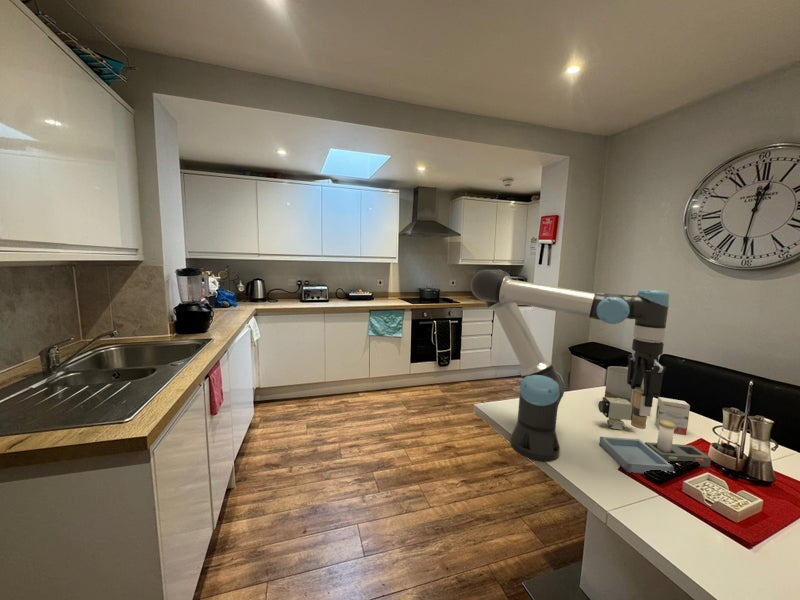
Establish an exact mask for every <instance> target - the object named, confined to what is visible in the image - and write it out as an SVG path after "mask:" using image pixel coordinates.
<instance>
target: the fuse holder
mask: <svg viewBox="0 0 800 600" xmlns="http://www.w3.org/2000/svg"><path fill="white" fill-rule="evenodd" d="M644 443H645V444H646V445H647V446H648V447H650V448H651V449H652V450H653V451H655V452H656V453H657V454H658V455H660V456H661V457H662V458H663V459H665V460H666V461H667V462H670V461H693V462H698V463H699V464H700V466H699V467H701V468H702V467H704V468H710V467H711V461H712V457H710V456H708V455H707V454H706V453H704V452H703V451H701V450H700V449H698V448H696V447H695V446H694V445H691V444H689V445H688V444H676V443H672V448H671V453H664V452H661V451H660V450H658V449H657V442H647V441H645V442H644Z"/></svg>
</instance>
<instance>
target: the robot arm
mask: <svg viewBox="0 0 800 600" xmlns="http://www.w3.org/2000/svg"><path fill="white" fill-rule="evenodd" d="M470 290H471V292H472V294H473V295H474V297H475V298H476V299H478V300H480V301H484V302H485V303H486V306H487V308H488V309H489V310H492V311H493V312H494V313H495V316H496V318H497V320H498V322H499V324H500V325H501V328H502V330H503V332H504V334H505V336H506V338H507V340H508V342H509V344H510V346H511V348H512V350H513V352H514V354H515V357H516V358H517V360H518V363H519V365H520V367H521V372H520V377H521V378H522V379H521V382H520V386H519V399H518V413H517V422H516V424H515V426H514V428H513V430H512V433H511V435H510V441H509V442H510V447H511V448H512V449H513V450H514V451H515V452H516V453H517V454H519V455H521V456H523V457H524V458H527V459H530V460H533V461H537V462H552V461H555V460H557V459H559V457H560V452H561V451H560V450H561V449H560V444H559V443H560V442H559V439H558V435H557V432H556V427H557V426H556V425H557V416H558V409H559V405H560V403H561V400H562V398H563V397H564V395H565V389H566V387H565V385H566V384H565V382H564V379H563V377H562V375H561V374H560V373H558V371H556V370H555V368H554V366H553V364H552V362H550V361H548V360H545V358H544V356H543V354H542V351H541V350H540V348H539V346H538V343H537V342H536V340H535V338H534V336H533V334H532V332H531V330H530V328H529V326H528V324H527V322H526V320H525V318H524V316H523V314H522V312H521V310H520V308H519V306H518V304H520V305H524V306H529V307H534V308H538V309H543V310H544V309H545V310H548V311H554V312H558V313H564V314H569V315H575V316H579V317H584V318H589V319H593V320H596V321H597V320H599V321H602V322H603V323H606V324H610V325H616V324H620V323H623V322H624V321H625V320H628V319H629V320H634V321H635V322H634V327H633V335H632V336H633V337H634V338H632V345H631V350H632V351H633V352H634V354H627V360H628V362H627V364H628V365H627V368H628V376H627V384H630V387H631V388H632V390H631V403H630V409H633V404H634V395H635V387H640V388H642V387H641V385H642V381H643V377H644V385H643V388H644V394H641V404H640V412H639V415H640V416H647V417H651V411H652V407H653V403H654V402H653V401H654V400H653V399H654V398H658V397H661V389H662V385H663V378H664V374H665V372H666V370H667V367H666V366H665V365H661V364H660V363H659V362H660V361H659V356H660V355H663V353H664V345H665V343H664V342H663V341H665V333H666V328H667V327H666V326H667V321H668V320H667V319H668V315H669V312H668V311H669V306H670V305H669V304H670V303H669V300H670V294H669V292H668V291H666V290H659V289H639V290H638V292H637V294H636V295H635V294H634V295H632V294H631V295H630V294H616V293H606V292H605V293H599V292H597V293H595V292H589V291H582V290H577V289H570V288H564V287H559V286H552V285H546V284H540V283H534V282H530V281H529V282H528V281H522V280H516V279H512V277H511V276H510V274H509V273H507V272H506V271H503V270H502V269H495V268H494V269H488V268H487V269H482V270H480V271H477V272H476V273H475V274H474V275H473V276H472V278H471V280H470ZM631 380H632V381H631Z"/></svg>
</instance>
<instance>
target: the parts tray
mask: <svg viewBox="0 0 800 600" xmlns="http://www.w3.org/2000/svg"><path fill="white" fill-rule="evenodd" d="M598 444H599V446H600V447H602V448H603V450H604V451H605V452H606V453H607V454H609V456H610V457H611V458H613V459H614V461H615V462H616V463H617V464H618V465H620V467H621V468H622V469H624V471H626V473H631V472H633V473H634V474H644V472H646V471H650V470H661V471H669V472H673V473H674V470H675V466H673V464H670V463H668V462H667V461H666V460H665V459H663V458H662V457H661V456H660V455H658V454H657V453H656V452H655V451H653V450H652V449H651V448H650V447H648V446H647V445H646V444H645V442H644V441H642V440H641V439H640V438H639V439H638V438H624V437H614V436H613V437H610V436H599V441H598ZM633 473H632V474H633Z"/></svg>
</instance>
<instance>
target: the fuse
mask: <svg viewBox="0 0 800 600" xmlns="http://www.w3.org/2000/svg"><path fill="white" fill-rule="evenodd" d="M659 424H660V426H659V430H658V435H657V440H656V441H657V442H656V443H657V449H658V450H660V451H661V452H664V453H671V448H672V444H673V441H674V440H673V439H674V434H675V433H674V428H675V424H674V423H673V422H670V421H667V420H660V423H659Z"/></svg>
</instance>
